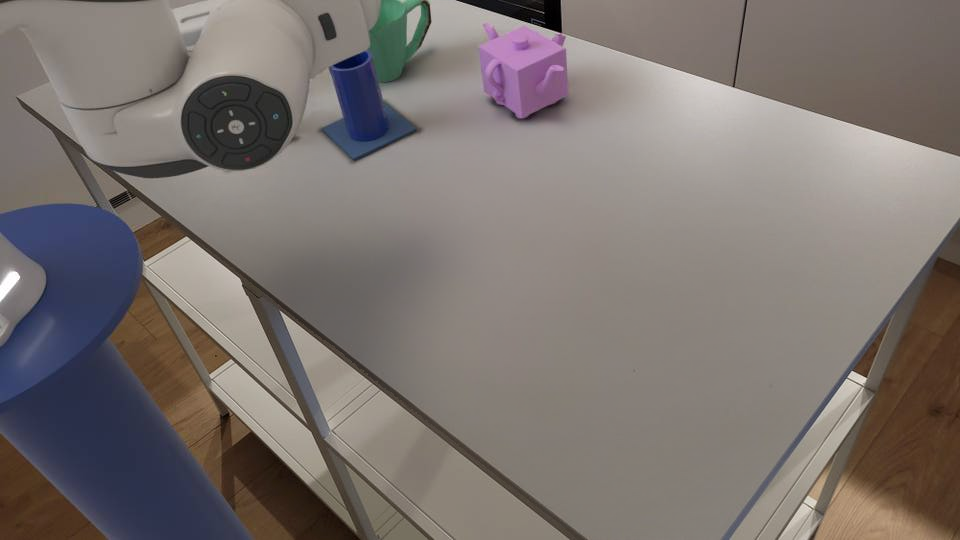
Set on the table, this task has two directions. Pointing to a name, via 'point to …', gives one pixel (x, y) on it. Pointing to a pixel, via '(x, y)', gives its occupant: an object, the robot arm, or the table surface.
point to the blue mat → (360, 149)
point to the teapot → (524, 69)
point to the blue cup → (360, 97)
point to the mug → (396, 36)
